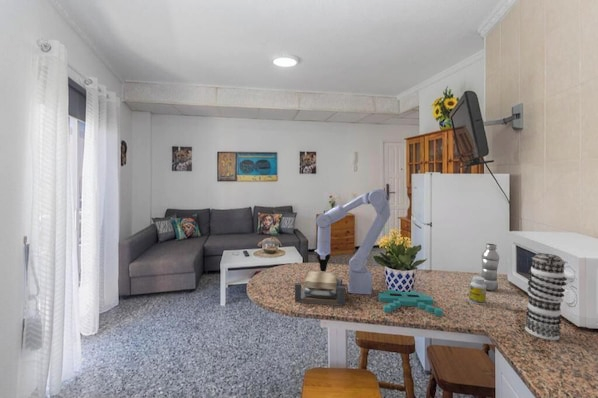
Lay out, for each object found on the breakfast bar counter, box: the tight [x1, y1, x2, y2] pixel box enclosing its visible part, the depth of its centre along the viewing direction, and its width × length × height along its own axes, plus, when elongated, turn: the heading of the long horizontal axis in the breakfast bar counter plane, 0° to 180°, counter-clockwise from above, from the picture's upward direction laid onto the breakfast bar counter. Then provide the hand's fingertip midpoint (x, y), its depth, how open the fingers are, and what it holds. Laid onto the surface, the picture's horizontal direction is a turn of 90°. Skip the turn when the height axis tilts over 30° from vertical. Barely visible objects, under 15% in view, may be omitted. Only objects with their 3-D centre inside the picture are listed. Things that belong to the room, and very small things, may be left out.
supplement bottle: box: [468, 275, 487, 306], centre depth 114 cm, size 5×5×10 cm
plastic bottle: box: [480, 243, 500, 292], centre depth 126 cm, size 6×7×20 cm
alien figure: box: [377, 288, 444, 317], centre depth 113 cm, size 20×2×20 cm
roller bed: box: [294, 277, 346, 306], centre depth 123 cm, size 19×28×6 cm
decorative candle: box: [524, 252, 568, 341], centre depth 91 cm, size 9×9×25 cm
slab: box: [304, 270, 338, 290], centre depth 118 cm, size 12×12×2 cm
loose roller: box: [305, 287, 336, 299], centre depth 114 cm, size 12×4×4 cm, turn 81°
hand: (323, 270), depth 129 cm, fingers closed
